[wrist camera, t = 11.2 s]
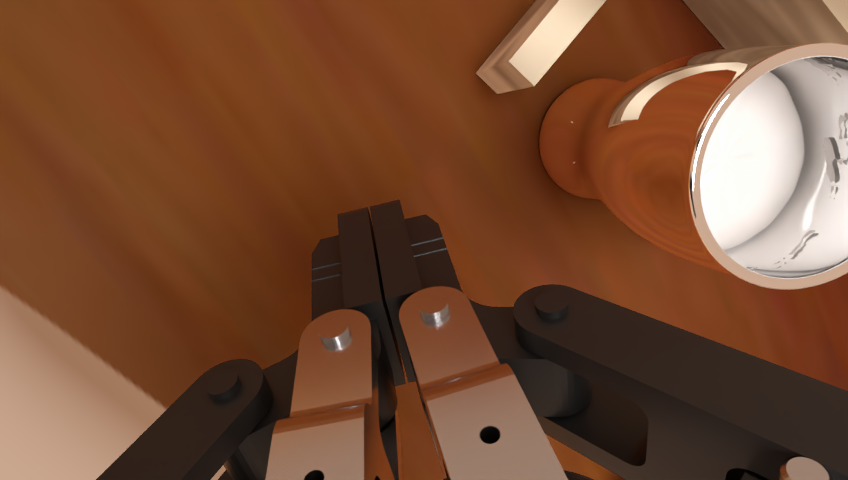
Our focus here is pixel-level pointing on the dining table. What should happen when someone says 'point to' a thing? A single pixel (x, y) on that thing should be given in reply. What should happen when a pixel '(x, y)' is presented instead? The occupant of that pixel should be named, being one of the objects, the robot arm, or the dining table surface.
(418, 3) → the dining table surface
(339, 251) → the robot arm
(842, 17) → the bracket
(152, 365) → the dining table surface
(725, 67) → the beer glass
